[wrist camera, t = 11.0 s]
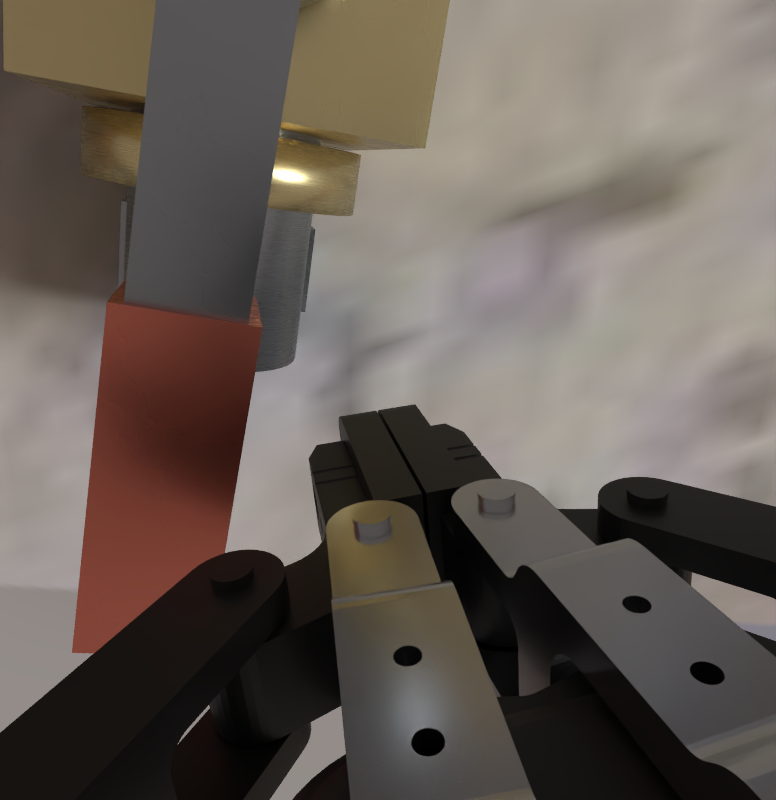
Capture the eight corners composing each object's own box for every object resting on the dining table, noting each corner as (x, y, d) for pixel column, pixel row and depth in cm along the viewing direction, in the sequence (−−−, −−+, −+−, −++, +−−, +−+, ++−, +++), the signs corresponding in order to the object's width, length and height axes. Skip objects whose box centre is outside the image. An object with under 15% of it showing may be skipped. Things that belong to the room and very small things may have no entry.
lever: (125, -359, 9) (93, -520, 7) (405, -243, 10) (454, -350, 8) (47, 568, 13) (12, 651, 11) (253, 581, 14) (258, 658, 12)
